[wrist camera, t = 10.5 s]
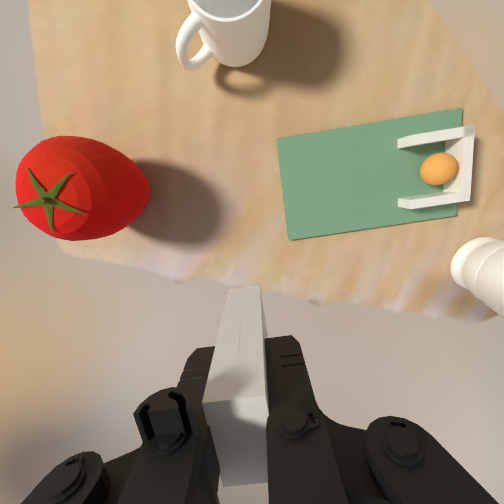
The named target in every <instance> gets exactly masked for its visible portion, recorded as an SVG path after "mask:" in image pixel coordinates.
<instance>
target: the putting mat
mask: <svg viewBox="0 0 504 504" xmlns="http://www.w3.org/2000/svg"><path fill="white" fill-rule="evenodd" d="M461 122H462V108H458V109H452V110H446V111H440V112H434V113H428V114H422V115H416V116H410V117H404V118H398V119H392V120H386V121H380V122H374V123H368V124H362V125H356V126H350V127H344V128H338V129H332V130H326V131H320V132H315V133H309V134H303V135H297V136H291V137H285V138H279V139H277V147H278V156H279V164H280V172H281V181H282V189H283V198H284V206H285V214H286V223H287V231H288V239H289V240H295V239H301V238H308V237H315V236H322V235H328V234H335V233H342V232H349V231H356V230H362V229H369V228H376V227H383V226H389V225H396V224H403V223H410V222H416V221H423V220H430V219H437V218H444V217H450V216H456V215H457V202H456V203H450V204H443V205H436V206H430V207H423V208H416V209H407V208H401V207H398V198H404V197H410V196H417V195H423V194H430V193H436V192H443V184H441V185H430V184H427V183H426V182H424V181H423V180H422V178H421V176H420V167H421V165H422V163H423V162H424V161H425V160H426V159H427V158H428V157H429V156H431V155H433V154H436V153H445V141H442V142H436V143H430V144H424V145H417V146H411V147H405V148H399V149H398V139H400V138H403V137H406V136H410V135H414V134H420V133H427V132H433V131H439V130H445V129H451V128H457V127H461Z"/></svg>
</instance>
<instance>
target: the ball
mask: <svg viewBox="0 0 504 504" xmlns="http://www.w3.org/2000/svg"><path fill="white" fill-rule="evenodd" d="M457 170H458V162H457V160H456V158H455V157H454V156H452V155H451V154H448V153H436V154H433V155H431V156H429V157H428V158H427V159H426V160H425V161H424V162H423V163H422V165H421V167H420V176H421V178H422V180H423V181H424V182H426V183H427V184H430V185H441V184H444V183H446V182H448V181H450V180H451V179H452V178H453V177H454V176H455V174H456V173H457Z"/></svg>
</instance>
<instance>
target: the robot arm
mask: <svg viewBox="0 0 504 504" xmlns="http://www.w3.org/2000/svg"><path fill="white" fill-rule="evenodd" d="M133 415H134V418H135V421H136V424H137V427H138V429H139V432H140V435H141V438H142V441H143V443H142V445H141V447H140V448H138V449H136V450H134V451H132V452H130V453H127V454H125V455H123V456H120V457H118V458H116V459H113V460H111V461H109V462H106V463H103V461H102V458H101V456H100V455H99V454H97V453H95V452H94V451H91V452H82V453H79V454H77V455H74V456H72V457H70V458H68V459H67V460H65V461H64V462H62V463H61V464H59V465H57V466H56V467H55V468H54V469H53V470H52V471H51V472H50V473H49V474H48V475H47V476H46V477H45V478H43V480H42V481H41V482H40V483H39V484H38V485H37V486H36V487H35V488H34V490H33V491H32V492H31V493H30V494H29V495H28V496H27V497H26V499H25V500H24V501H23V502H22V503H21V504H220V503H219V499H218V496H217V492H218V484H219V475H220V476H221V480H222V484H223V487H227V486H237V485H247V484H256V483H266V482H268V491H269V504H499V503H497V501H496V500H495V499H494V498H493V497H492V496H491V495H490V494H489V493H488V492H487V491H486V490H485V489H484V488H483V487H482V486H481V485H480V484H479V483H478V482H477V481H476V480H475V479H474V478H473V477H472V476H471V475H470V474H469V473H468V472H467V471H466V470H465V469H464V468H463V467H462V466H461V465H460V464H459V463H458V462H457V461H456V460H455V459H454V458H453V457H452V456H451V455H450V454H449V453H448V452H447V451H446V450H445V449H444V448H443V447H442V446H441V445H440V444H439V443H438V441H437V440H436V439H434V437H432V435H430V434H429V433H428V432H427V431H425V430H424V429H423V428H422V427H420V426H419V425H417V424H415V423H413V422H411V421H409V420H407V419H405V418H399V417H394V416H387V417H380V418H378V419H376V420H375V421H373V422H371V423H370V424H369V427H368V429H367V430H363V429H358V428H353V427H348V426H345V425H341V424H338V423H336V422H334V421H333V420H331V419H329V418H328V417H327V416H325V415H324V414H323V412H322V411H321V410H320V409H319V407H318V405H317V403H316V401H315V397H314V393H313V390H312V386H311V382H310V379H309V375H308V372H307V368H306V365H305V361H304V357H303V354H302V351H301V347H300V343H299V342H298V341H297V340H296V339H295V338H294V337H293V336H292V335H289V336H281V337H274V338H268V334H267V328H266V322H265V315H264V309H263V302H262V296H261V290H260V285H256V286H249V287H242V288H235V289H229V291H228V295H227V299H226V303H225V308H224V312H223V316H222V320H221V324H220V329H219V333H218V337H217V342H216V345H215V346H213V347H204V348H197V349H196V350H195V351H194V352H193V353H192V354H191V355H190V356H189V358H188V359H187V362H186V364H185V367H184V372H182V375H181V377H180V381H179V383H178V385H177V387H176V388H175V387H171V388H167V389H163V390H160V391H158V392H156V393H154V394H152V395H151V396H149V397H148V398H147V399H146V400H144V401H143V402H142V403H141V404H140V405H139V406H138V408H137V409H136V411H135V412H134V413H133Z"/></svg>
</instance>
